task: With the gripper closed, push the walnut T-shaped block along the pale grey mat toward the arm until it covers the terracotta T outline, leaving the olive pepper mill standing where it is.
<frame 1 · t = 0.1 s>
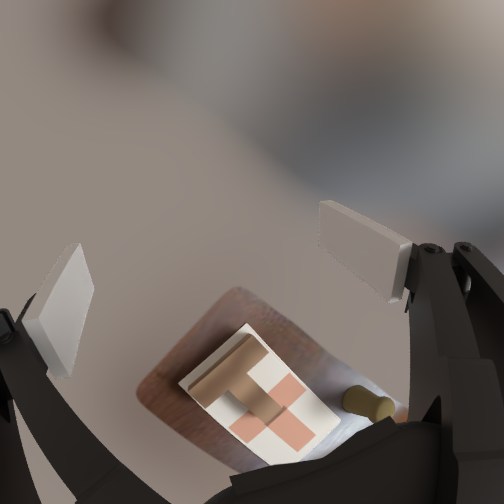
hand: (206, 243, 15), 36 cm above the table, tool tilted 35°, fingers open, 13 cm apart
t block: (239, 382, 47), resting on mat
mat: (266, 407, 47), on the table
olive pepper mill: (354, 399, 51), on the table
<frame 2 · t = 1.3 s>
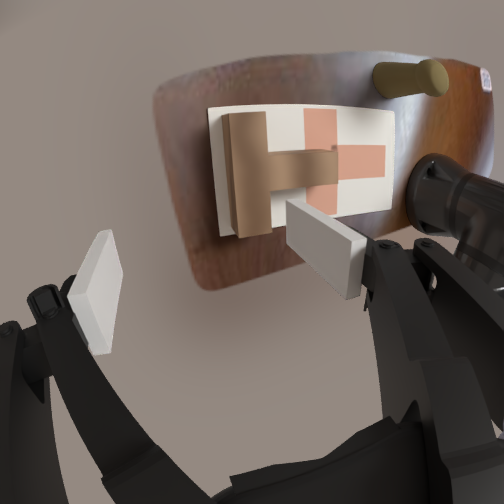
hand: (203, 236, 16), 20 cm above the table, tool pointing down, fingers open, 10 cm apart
t block: (269, 167, 35), resting on mat
mat: (318, 163, 37), on the table
olive pepper mill: (386, 80, 35), on the table
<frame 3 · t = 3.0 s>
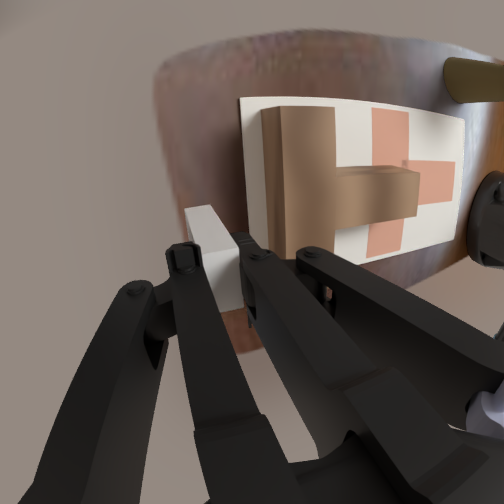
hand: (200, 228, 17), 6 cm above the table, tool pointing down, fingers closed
t block: (326, 190, 24), resting on mat
mat: (385, 184, 26), on the table
olive pepper mill: (456, 80, 24), on the table
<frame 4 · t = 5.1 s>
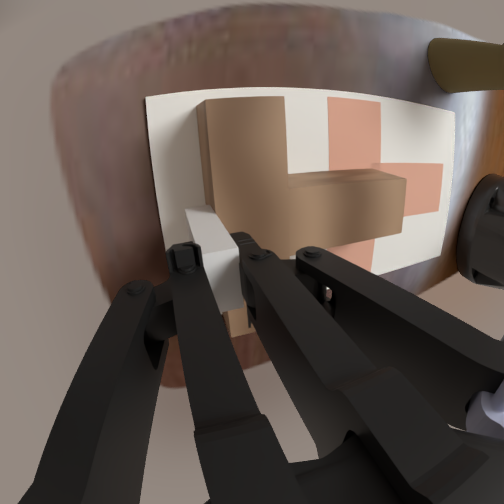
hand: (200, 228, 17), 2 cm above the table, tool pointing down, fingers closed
t block: (285, 202, 20), resting on mat
mat: (348, 194, 22), on the table
olive pepper mill: (444, 65, 20), on the table
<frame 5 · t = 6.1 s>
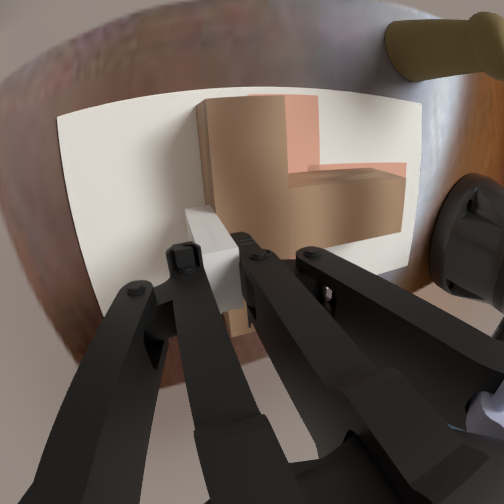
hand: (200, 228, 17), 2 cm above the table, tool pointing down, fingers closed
t block: (285, 202, 20), resting on mat
mat: (280, 202, 20), on the table
olive pepper mill: (407, 50, 18), on the table
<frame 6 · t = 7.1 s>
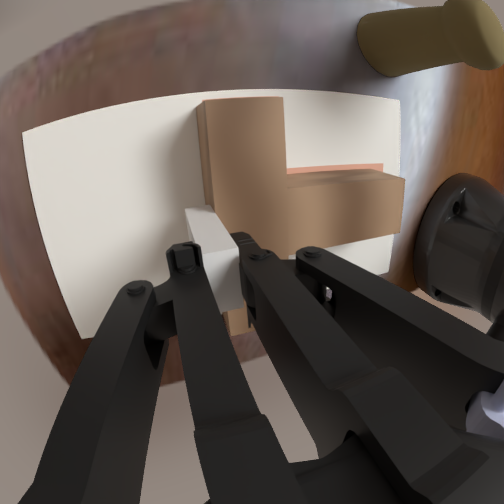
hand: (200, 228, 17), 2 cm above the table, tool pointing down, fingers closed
t block: (285, 202, 20), resting on mat, touching gripper
mat: (241, 209, 20), on the table
olive pepper mill: (383, 44, 18), on the table
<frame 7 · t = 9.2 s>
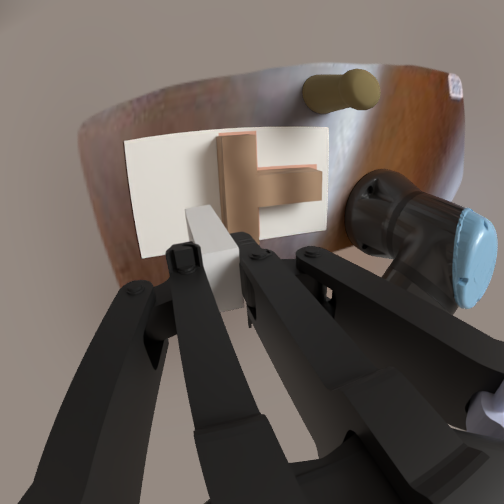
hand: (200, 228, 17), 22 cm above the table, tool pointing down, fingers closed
t block: (259, 184, 39), resting on mat
mat: (236, 187, 39), on the table
olive pepper mill: (320, 94, 37), on the table
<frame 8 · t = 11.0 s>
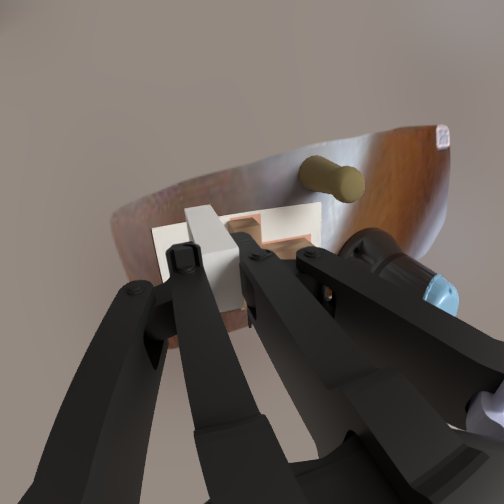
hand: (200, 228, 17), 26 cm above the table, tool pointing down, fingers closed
t block: (263, 255, 49), resting on mat
mat: (245, 259, 49), on the table
olive pepper mill: (315, 173, 47), on the table
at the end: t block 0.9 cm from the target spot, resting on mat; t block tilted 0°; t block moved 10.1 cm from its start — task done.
